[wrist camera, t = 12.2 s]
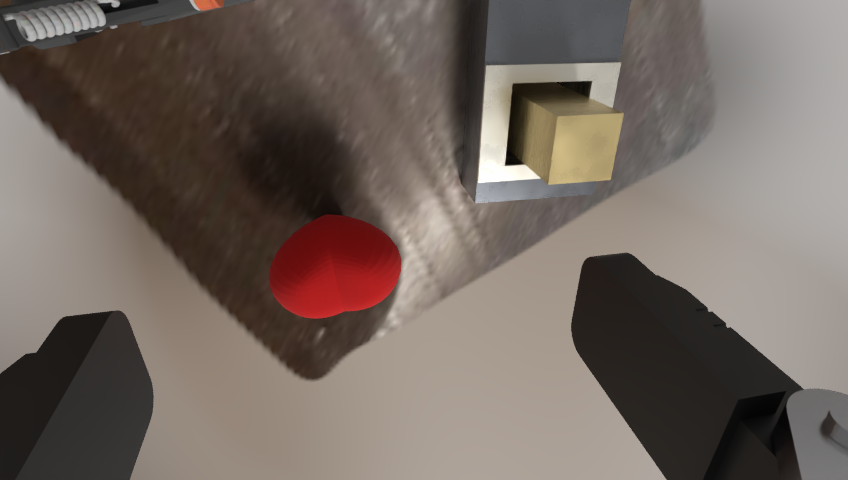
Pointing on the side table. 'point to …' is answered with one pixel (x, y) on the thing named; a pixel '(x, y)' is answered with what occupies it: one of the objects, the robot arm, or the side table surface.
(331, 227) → the red two-lobed part
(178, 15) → the hand grip strengthener
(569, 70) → the grey peg holder block
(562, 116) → the brass block
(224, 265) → the side table surface
